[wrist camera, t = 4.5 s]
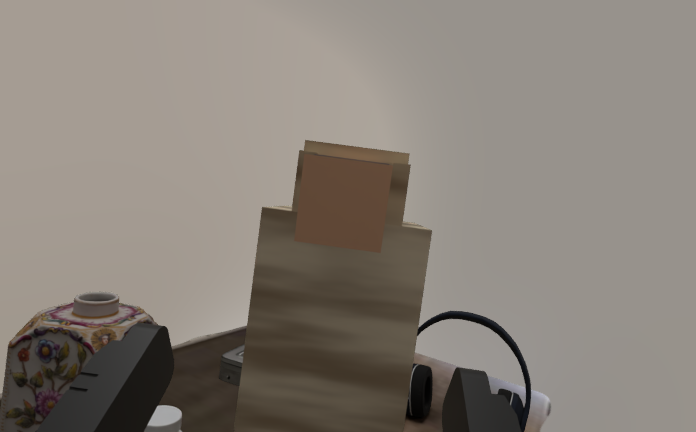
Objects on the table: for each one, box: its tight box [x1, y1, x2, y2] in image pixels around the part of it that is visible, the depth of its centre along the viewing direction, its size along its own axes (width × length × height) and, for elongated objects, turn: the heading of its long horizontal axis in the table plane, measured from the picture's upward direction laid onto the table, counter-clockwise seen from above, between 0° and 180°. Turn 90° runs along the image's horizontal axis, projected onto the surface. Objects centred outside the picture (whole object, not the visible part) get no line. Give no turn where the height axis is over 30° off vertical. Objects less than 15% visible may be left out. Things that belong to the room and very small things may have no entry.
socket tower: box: [234, 140, 432, 432], centre depth 35 cm, size 10×12×37 cm
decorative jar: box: [0, 292, 158, 432], centre depth 51 cm, size 12×12×18 cm
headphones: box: [406, 311, 531, 432], centre depth 66 cm, size 20×7×18 cm, turn 65°
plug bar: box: [294, 154, 393, 253], centre depth 26 cm, size 14×4×4 cm, turn 178°
